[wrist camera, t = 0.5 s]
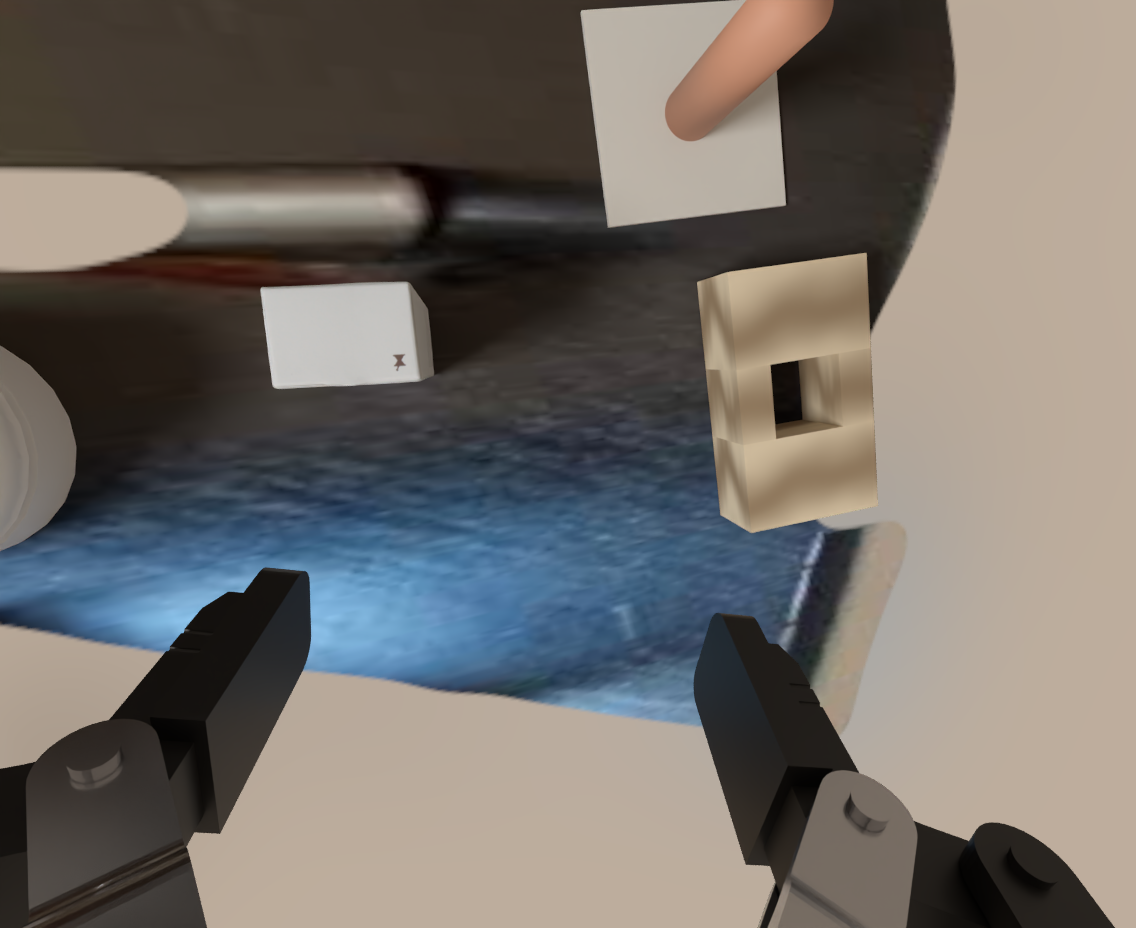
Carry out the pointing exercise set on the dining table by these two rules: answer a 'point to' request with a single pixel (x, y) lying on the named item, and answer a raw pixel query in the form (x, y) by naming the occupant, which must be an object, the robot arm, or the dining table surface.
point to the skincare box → (346, 334)
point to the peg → (742, 61)
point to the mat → (640, 132)
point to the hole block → (827, 382)
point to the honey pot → (31, 451)
